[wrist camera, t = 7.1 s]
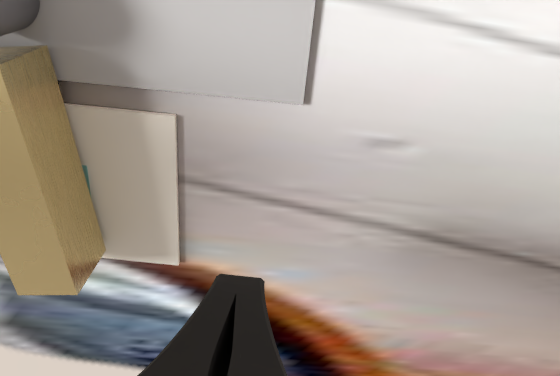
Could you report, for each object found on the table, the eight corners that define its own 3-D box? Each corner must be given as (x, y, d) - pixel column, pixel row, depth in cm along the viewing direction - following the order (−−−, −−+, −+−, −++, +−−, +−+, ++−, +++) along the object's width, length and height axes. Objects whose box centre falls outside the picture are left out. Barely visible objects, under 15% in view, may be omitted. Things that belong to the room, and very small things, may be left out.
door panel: (-48, 239, 22) (-116, 297, 18) (-166, -125, 15) (-312, -144, 11) (283, 272, 22) (279, 336, 18) (324, -74, 15) (330, -78, 11)
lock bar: (-19, 47, 17) (-80, 68, 14) (47, 45, 16) (-2, 65, 14) (53, 250, 21) (18, 294, 18) (106, 250, 21) (77, 294, 18)
